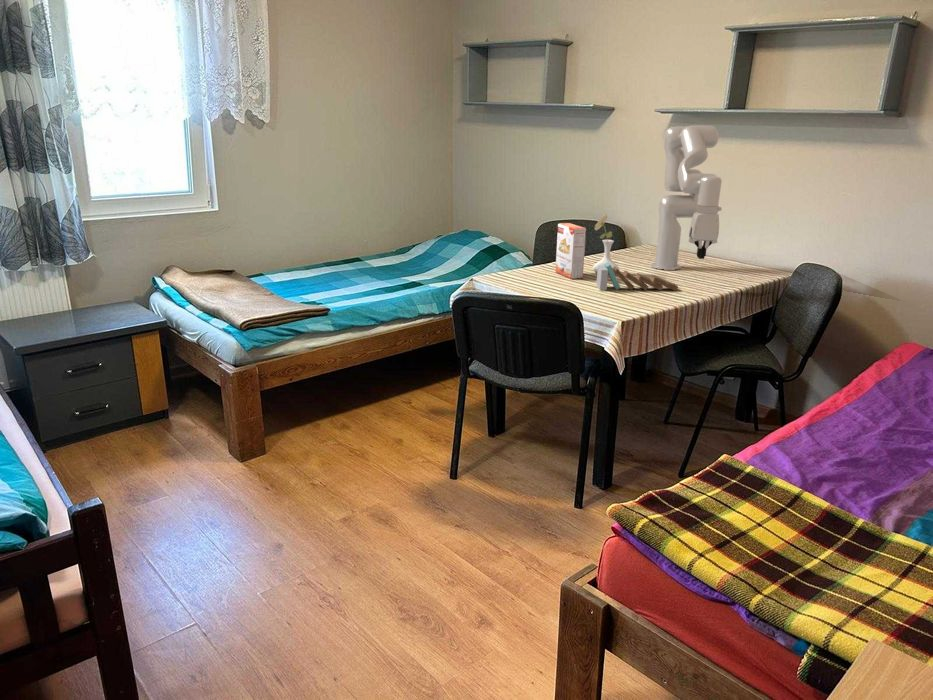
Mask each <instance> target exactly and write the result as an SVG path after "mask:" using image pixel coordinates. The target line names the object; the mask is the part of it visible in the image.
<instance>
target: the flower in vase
mask: <svg viewBox="0 0 933 700" xmlns="http://www.w3.org/2000/svg"><path fill="white" fill-rule="evenodd" d="M607 218H608V215H607V214H603V215H602V216H601V217H600V219H598V220H597V223H596V224H595V225H594V229H593V230H595V231H598V230H599V229H600V228H602V227H603V228H604V231H605V232H604V233H602V234H601V235H600V236H599V239H600V240H601V239H602V243H603V246H604V256H603V258H602V259H601V260H599V261H598V262H596V263H595V264H594V265H593V266H592V268H591V269H592V270H593V272H596V273H597V271H598V266H604V264H606V263H608V262H609V264H610V265H611V267H612V268H613V267H616V268H617V269H618V270H619V271H620V267H619V265H617V264H616V263H615V262H614V261H613V259H611V249H612V246H613V244H614V242H615V240H612V239H609V238H611V237H613V233H612V231H609V232H607V230H606V226H605V223H606V222H607ZM605 237H606V239H604V238H605Z"/></svg>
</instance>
